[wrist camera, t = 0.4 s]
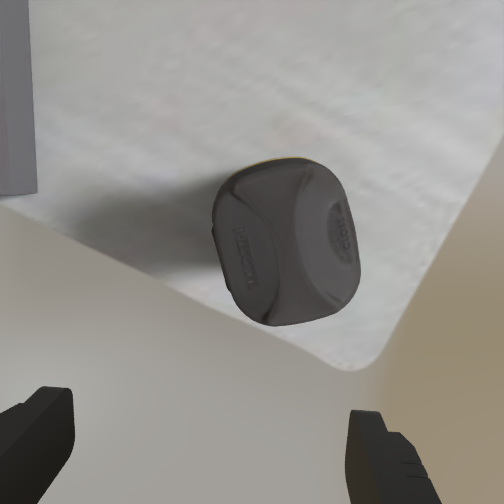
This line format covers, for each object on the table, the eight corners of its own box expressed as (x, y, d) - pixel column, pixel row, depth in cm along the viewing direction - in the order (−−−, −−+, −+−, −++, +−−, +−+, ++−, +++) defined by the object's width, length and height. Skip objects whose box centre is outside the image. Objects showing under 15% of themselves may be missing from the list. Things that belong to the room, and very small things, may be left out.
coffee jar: (333, 252, 39) (383, 324, 21) (254, 270, 40) (236, 355, 22) (311, 152, 37) (344, 137, 19) (228, 174, 38) (186, 178, 20)
